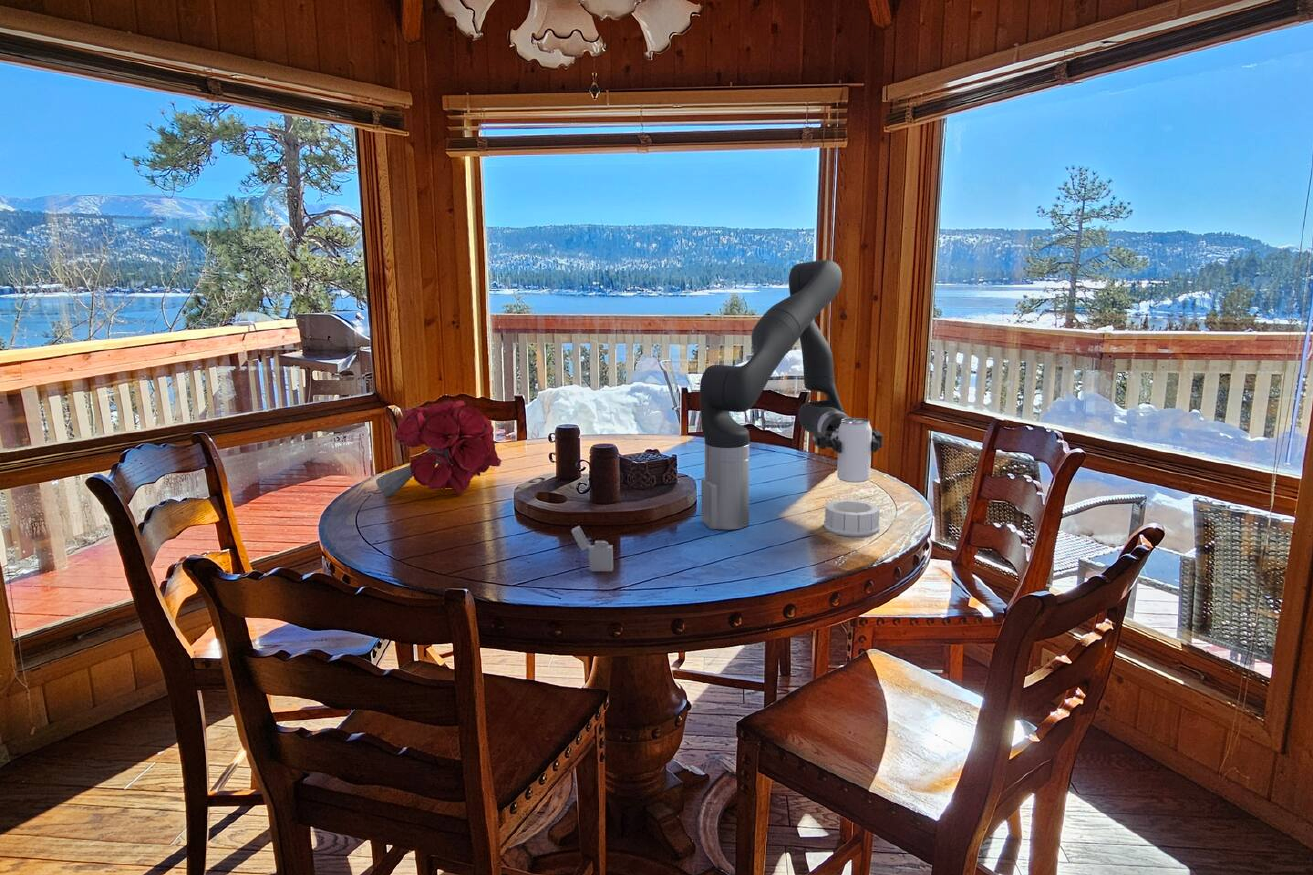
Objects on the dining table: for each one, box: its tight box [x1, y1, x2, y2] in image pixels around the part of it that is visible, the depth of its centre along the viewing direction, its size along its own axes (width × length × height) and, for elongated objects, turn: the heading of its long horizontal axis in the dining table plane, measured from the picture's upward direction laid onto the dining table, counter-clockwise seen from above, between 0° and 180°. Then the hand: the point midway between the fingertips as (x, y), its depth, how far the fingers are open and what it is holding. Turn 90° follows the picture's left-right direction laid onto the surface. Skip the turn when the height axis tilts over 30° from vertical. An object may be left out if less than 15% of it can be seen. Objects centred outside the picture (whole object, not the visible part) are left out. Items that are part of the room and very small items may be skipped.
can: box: [836, 417, 873, 484], centre depth 160 cm, size 6×6×12 cm
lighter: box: [571, 525, 614, 572], centre depth 142 cm, size 7×2×8 cm, turn 88°
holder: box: [823, 499, 880, 538], centre depth 163 cm, size 11×11×4 cm
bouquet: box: [375, 400, 502, 498], centre depth 192 cm, size 22×24×30 cm
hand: (857, 447), depth 158 cm, fingers closed on can, 6 cm apart
